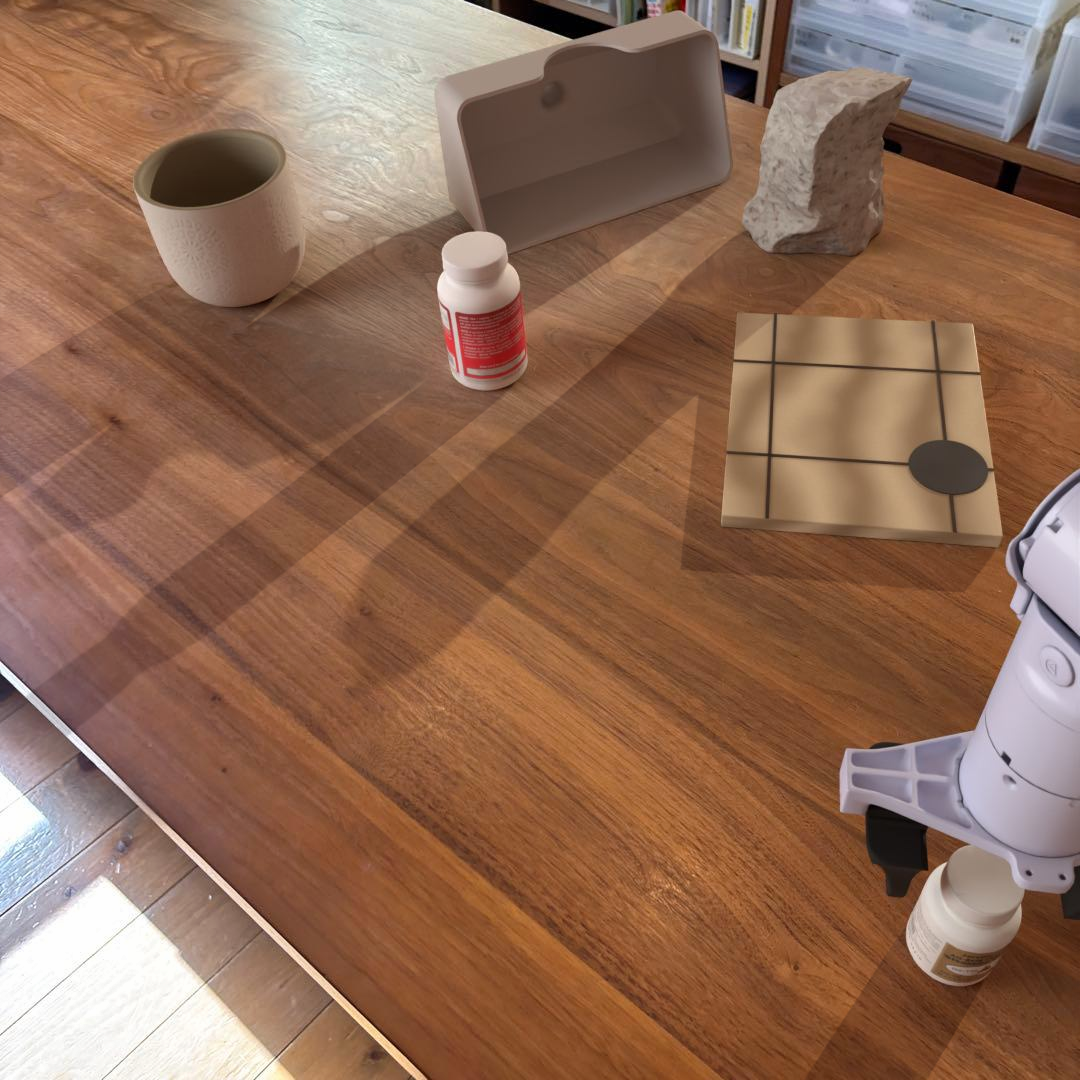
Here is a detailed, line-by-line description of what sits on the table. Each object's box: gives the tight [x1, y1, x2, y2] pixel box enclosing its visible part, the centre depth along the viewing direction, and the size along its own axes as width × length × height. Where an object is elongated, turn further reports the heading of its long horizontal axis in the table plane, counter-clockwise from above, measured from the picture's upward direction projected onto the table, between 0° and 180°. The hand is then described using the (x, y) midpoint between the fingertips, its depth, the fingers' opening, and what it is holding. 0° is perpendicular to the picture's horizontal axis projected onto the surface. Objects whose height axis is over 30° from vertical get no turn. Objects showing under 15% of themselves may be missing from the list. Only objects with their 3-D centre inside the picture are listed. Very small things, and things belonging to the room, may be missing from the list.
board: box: [720, 312, 1004, 549], centre depth 80 cm, size 18×22×1 cm
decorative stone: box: [741, 66, 913, 257], centre depth 91 cm, size 10×9×15 cm
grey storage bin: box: [434, 10, 734, 255], centre depth 101 cm, size 25×16×12 cm, turn 115°
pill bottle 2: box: [905, 844, 1026, 987], centre depth 53 cm, size 4×4×8 cm
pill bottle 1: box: [436, 231, 528, 392], centre depth 84 cm, size 6×6×11 cm
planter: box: [132, 128, 306, 308], centre depth 94 cm, size 12×12×11 cm
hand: (980, 887), depth 51 cm, fingers open, 7 cm apart
